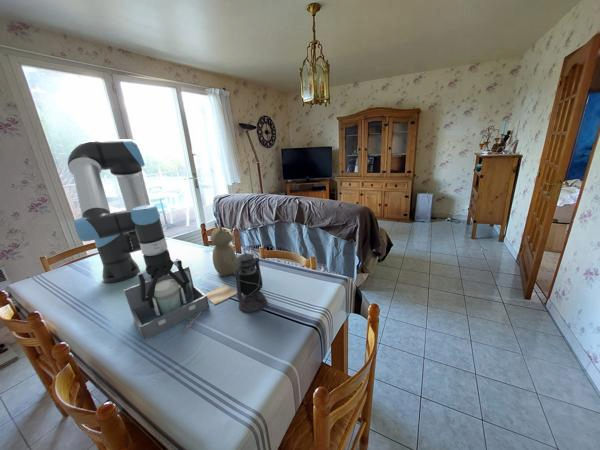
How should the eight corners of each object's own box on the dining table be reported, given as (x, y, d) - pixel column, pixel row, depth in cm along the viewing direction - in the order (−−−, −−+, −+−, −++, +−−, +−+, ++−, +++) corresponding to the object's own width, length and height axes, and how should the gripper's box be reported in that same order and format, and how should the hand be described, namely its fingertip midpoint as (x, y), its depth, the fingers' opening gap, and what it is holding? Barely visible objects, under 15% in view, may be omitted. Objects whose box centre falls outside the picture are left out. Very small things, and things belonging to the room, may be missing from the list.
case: (134, 320, 89) (123, 289, 85) (194, 293, 103) (188, 265, 99) (144, 341, 79) (133, 307, 75) (210, 307, 93) (203, 277, 89)
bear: (258, 273, 116) (251, 223, 108) (224, 285, 107) (214, 231, 100) (241, 258, 132) (235, 214, 125) (210, 268, 124) (201, 220, 116)
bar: (185, 334, 81) (184, 331, 81) (181, 333, 81) (181, 330, 81) (201, 314, 90) (200, 311, 90) (198, 313, 91) (197, 311, 90)
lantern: (252, 318, 85) (239, 238, 76) (230, 309, 91) (216, 233, 82) (274, 299, 95) (265, 226, 86) (253, 292, 101) (242, 222, 91)
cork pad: (203, 295, 101) (203, 294, 101) (225, 285, 108) (225, 284, 108) (214, 305, 94) (214, 304, 94) (237, 293, 101) (237, 292, 101)
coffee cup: (175, 322, 86) (166, 292, 82) (154, 320, 88) (145, 291, 84) (190, 306, 94) (183, 279, 90) (170, 304, 96) (163, 277, 92)
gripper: (120, 266, 73) (141, 328, 81) (191, 243, 87) (203, 298, 94) (115, 259, 79) (135, 317, 86) (183, 239, 92) (195, 290, 100)
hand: (171, 307), depth 90 cm, fingers closed on coffee cup, 8 cm apart
